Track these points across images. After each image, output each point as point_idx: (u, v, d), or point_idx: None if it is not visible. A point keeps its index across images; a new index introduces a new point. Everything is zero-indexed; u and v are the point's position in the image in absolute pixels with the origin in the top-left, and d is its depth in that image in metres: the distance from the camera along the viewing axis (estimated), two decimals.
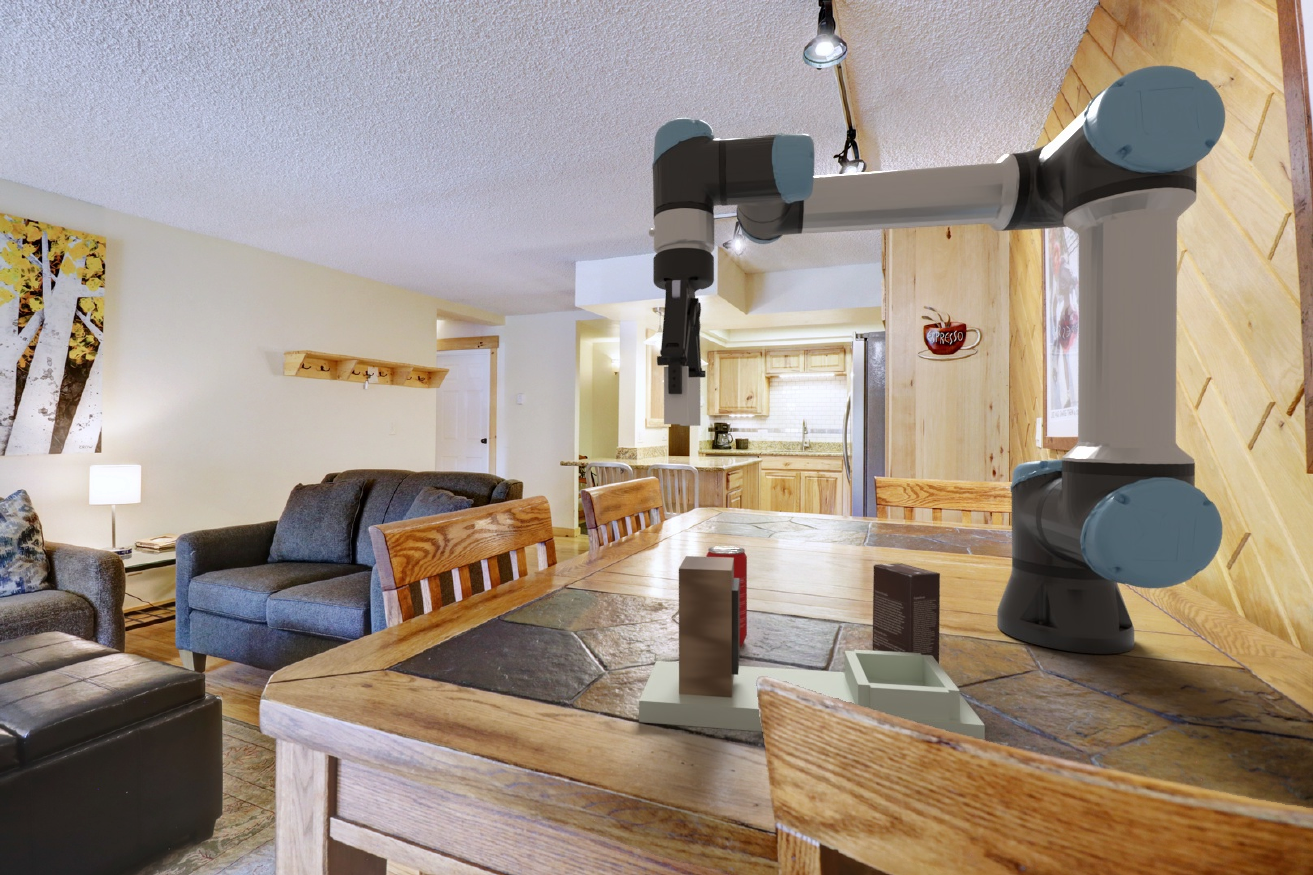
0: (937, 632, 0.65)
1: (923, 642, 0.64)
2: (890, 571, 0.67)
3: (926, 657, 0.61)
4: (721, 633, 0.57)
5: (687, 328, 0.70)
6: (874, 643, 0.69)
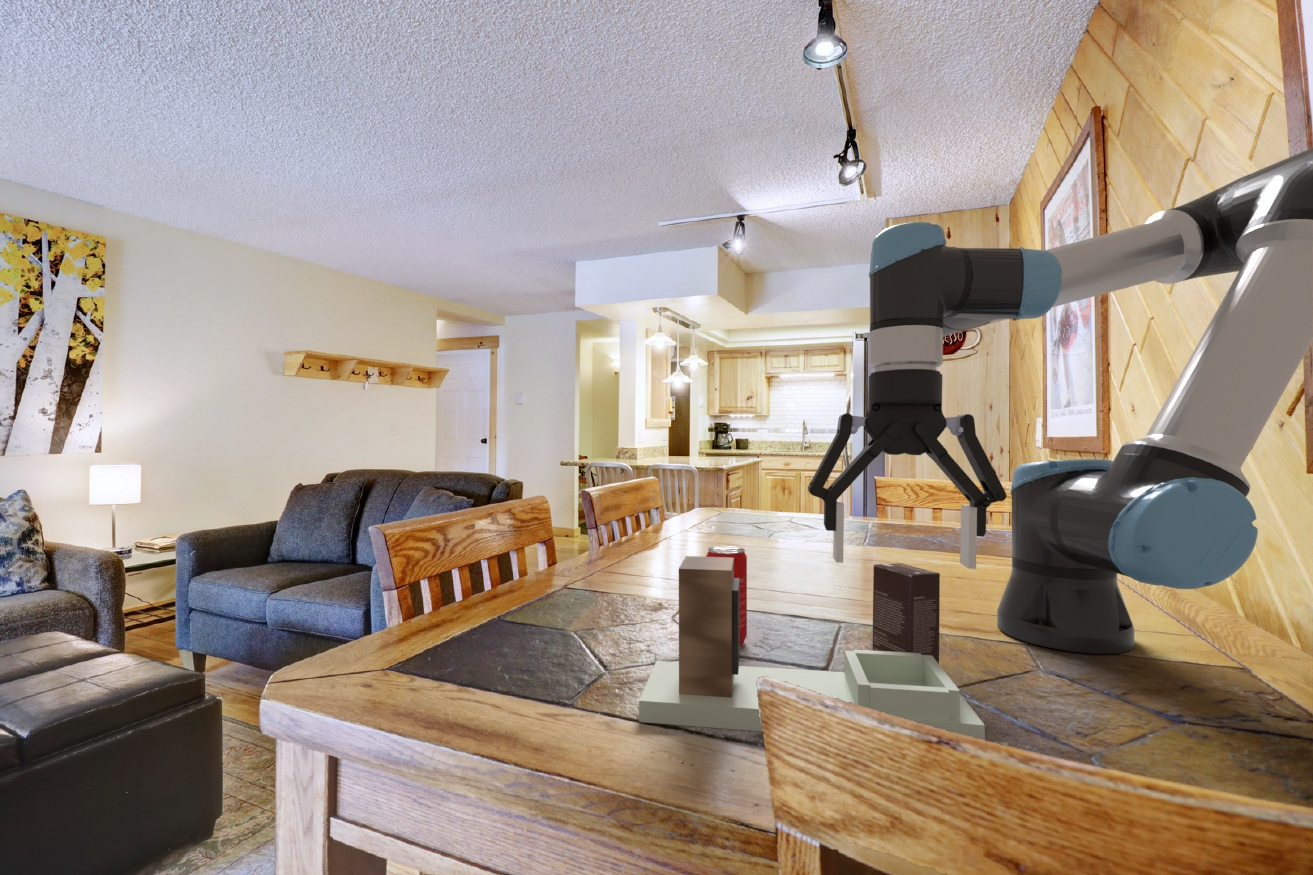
0: (937, 632, 0.65)
1: (923, 642, 0.64)
2: (890, 571, 0.67)
3: (926, 657, 0.61)
4: (721, 633, 0.57)
5: (855, 462, 0.67)
6: (874, 643, 0.69)
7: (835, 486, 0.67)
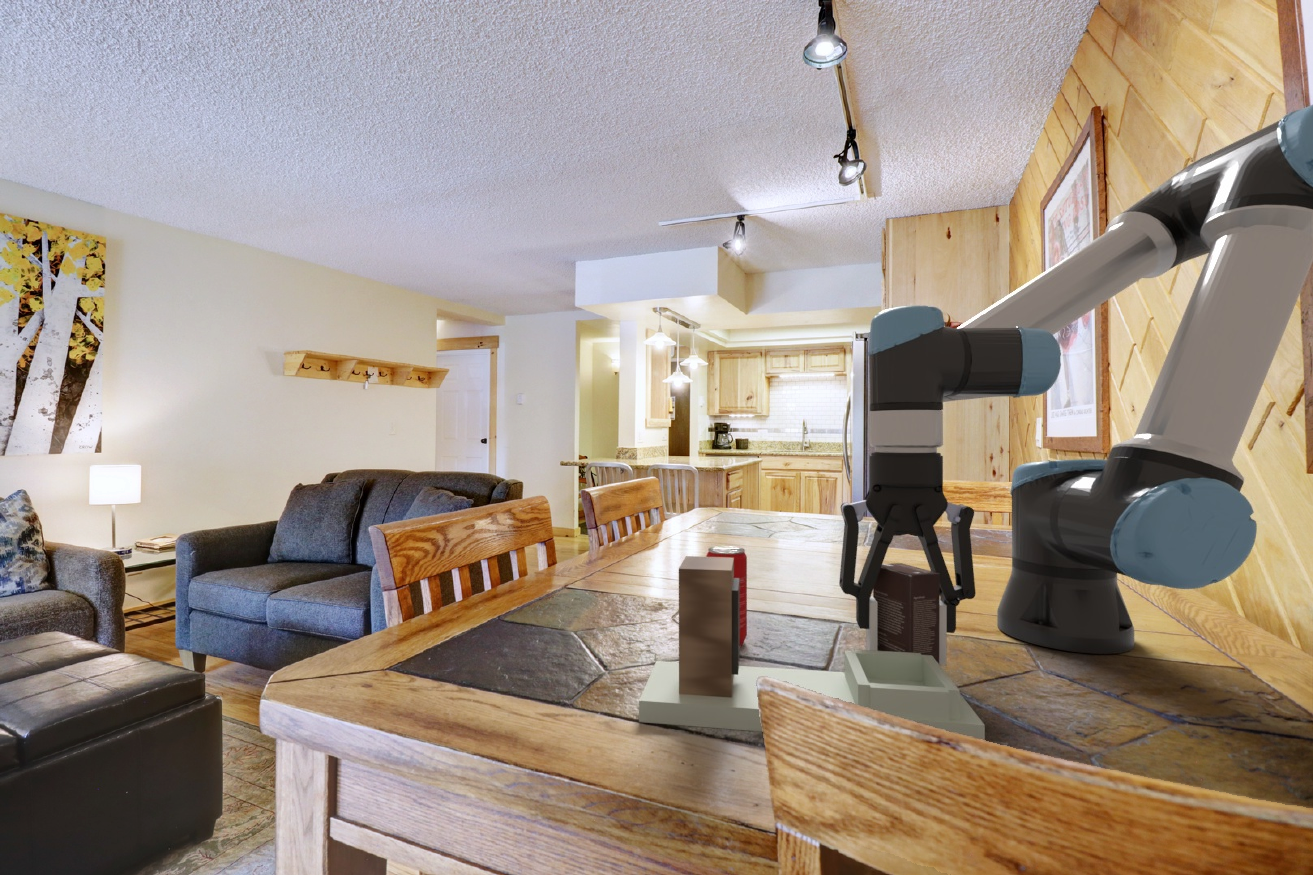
0: (937, 632, 0.65)
1: (923, 642, 0.64)
2: (890, 571, 0.67)
3: (926, 657, 0.61)
4: (721, 633, 0.57)
5: (873, 553, 0.66)
6: None
7: (864, 584, 0.67)
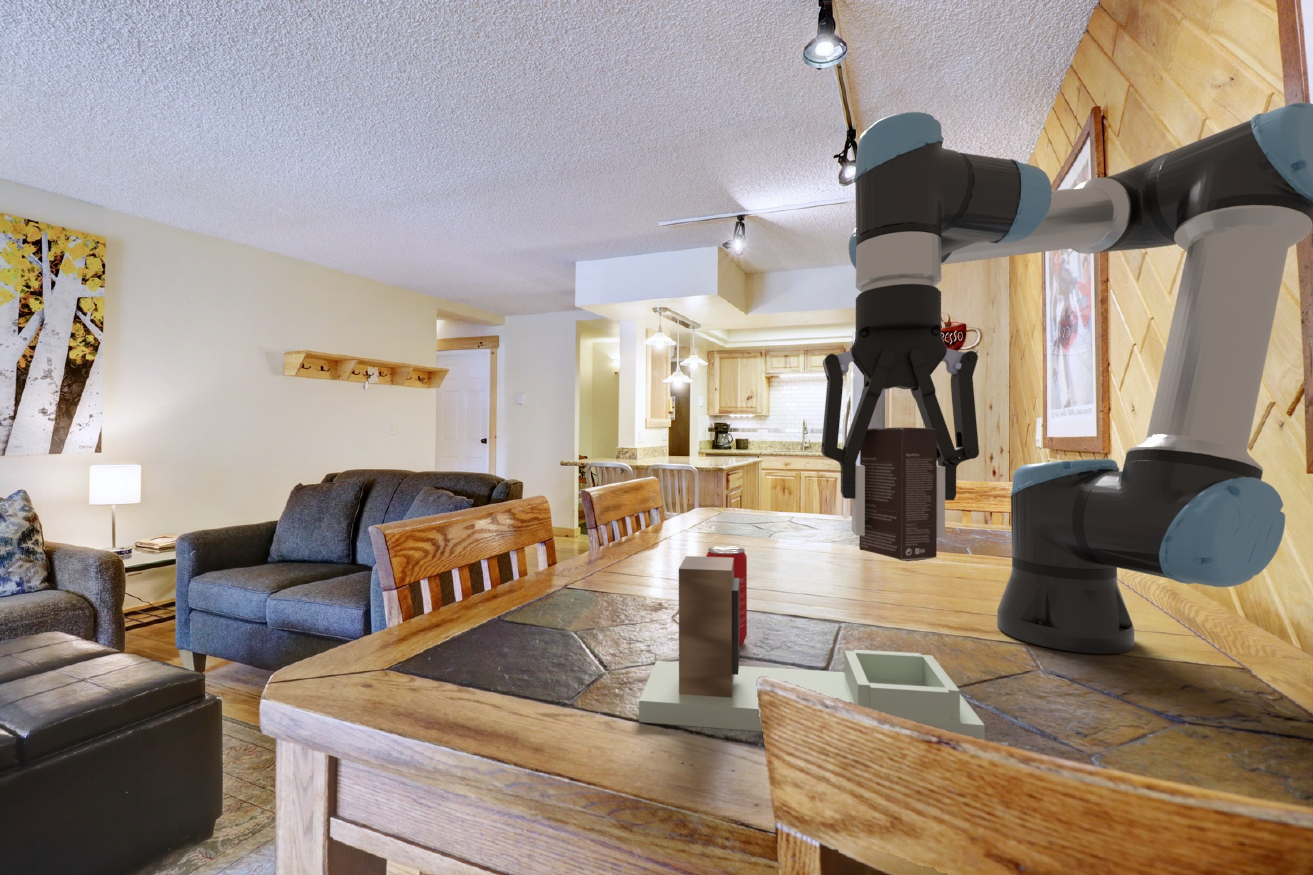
0: (934, 497, 0.55)
1: (918, 508, 0.55)
2: (878, 430, 0.57)
3: (926, 657, 0.61)
4: (721, 633, 0.57)
5: (860, 410, 0.57)
6: None
7: (849, 445, 0.57)
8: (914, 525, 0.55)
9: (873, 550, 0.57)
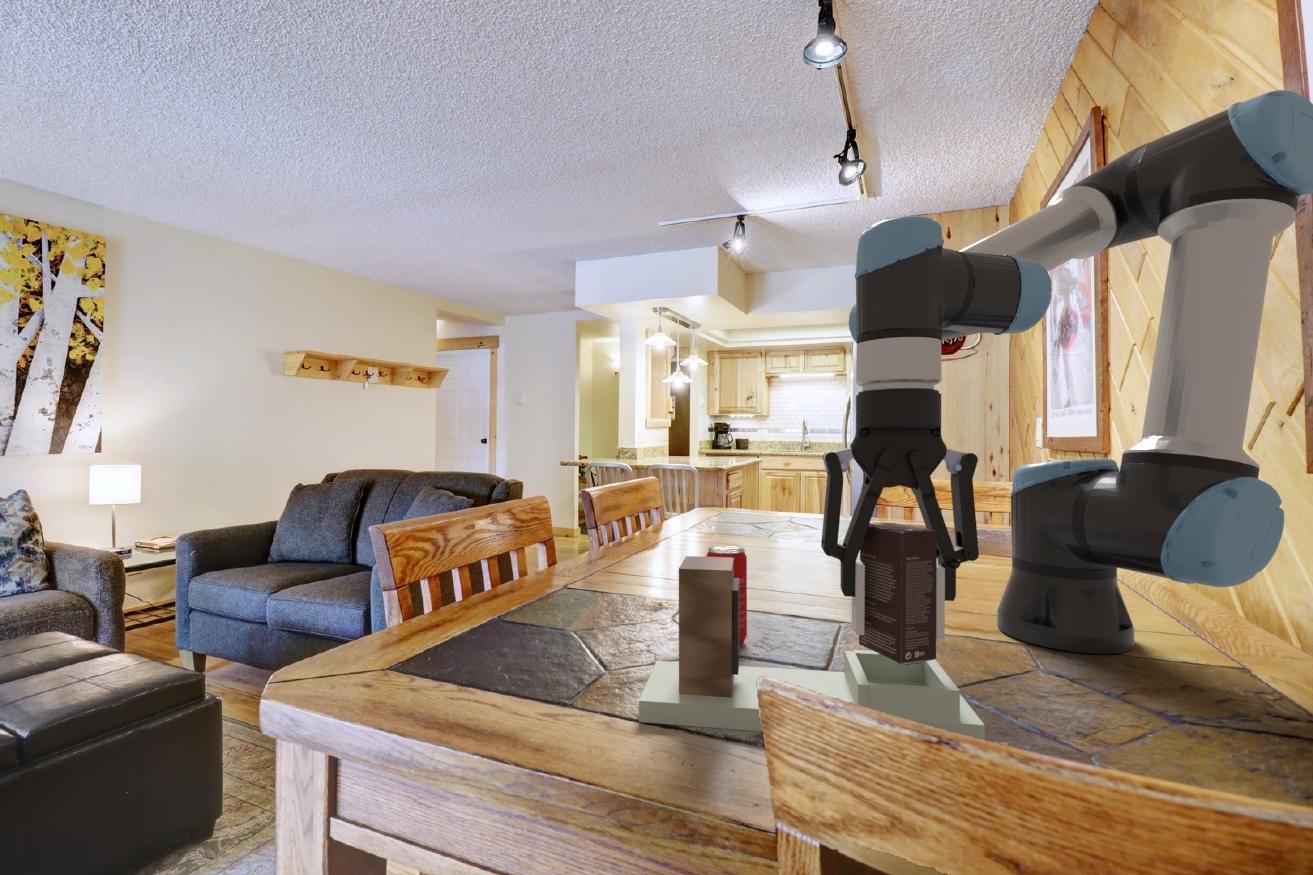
0: (934, 599, 0.55)
1: (918, 611, 0.55)
2: (878, 529, 0.57)
3: None
4: (721, 633, 0.57)
5: (860, 509, 0.57)
6: None
7: (849, 544, 0.57)
8: (914, 628, 0.55)
9: (873, 648, 0.57)
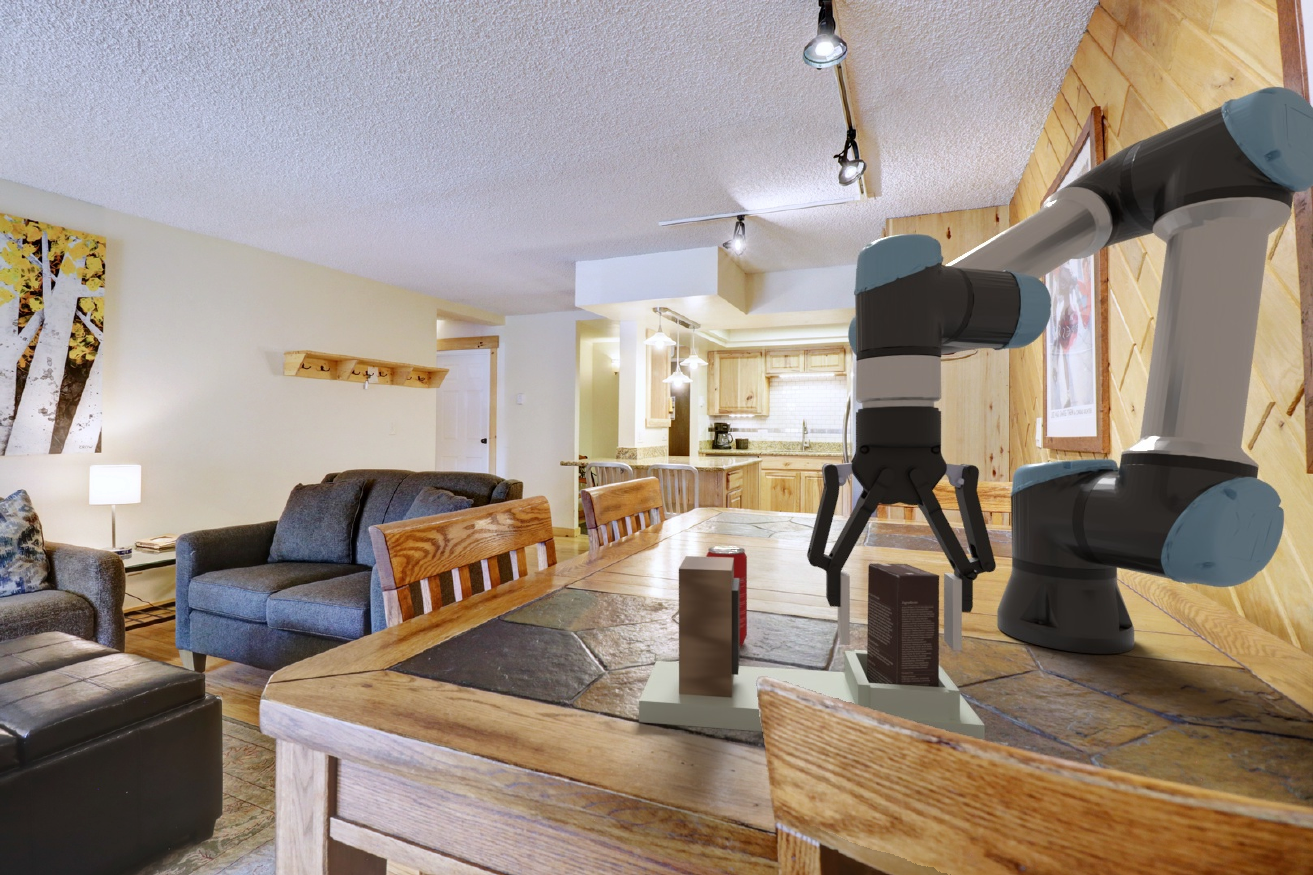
0: (935, 645, 0.55)
1: (916, 656, 0.55)
2: (881, 571, 0.58)
3: None
4: (721, 633, 0.57)
5: (852, 521, 0.57)
6: (868, 654, 0.60)
7: (836, 554, 0.57)
8: (911, 673, 0.54)
9: None
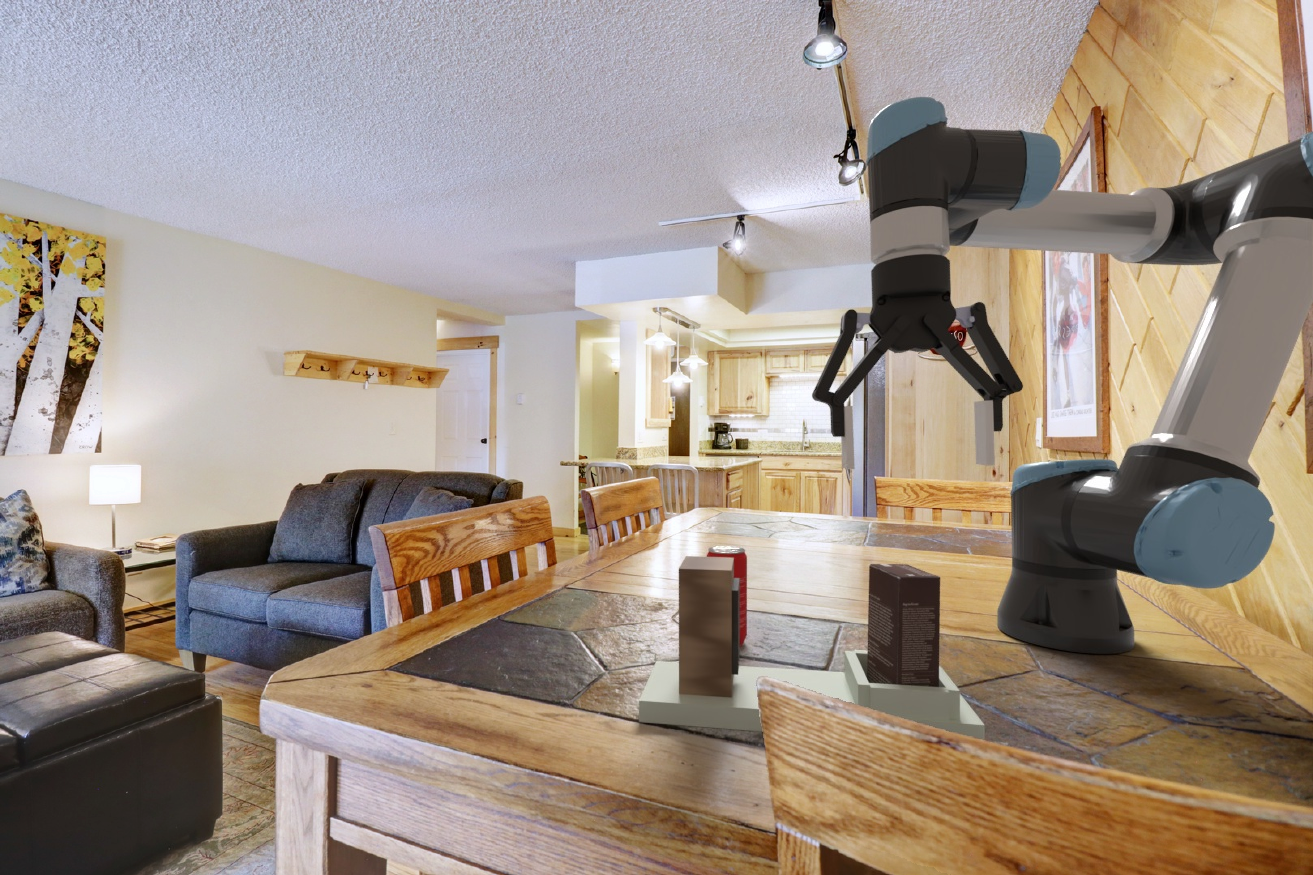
0: (936, 647, 0.55)
1: (917, 657, 0.54)
2: (882, 572, 0.57)
3: None
4: (721, 633, 0.57)
5: (862, 361, 0.62)
6: (868, 654, 0.60)
7: (842, 388, 0.63)
8: (911, 674, 0.54)
9: None
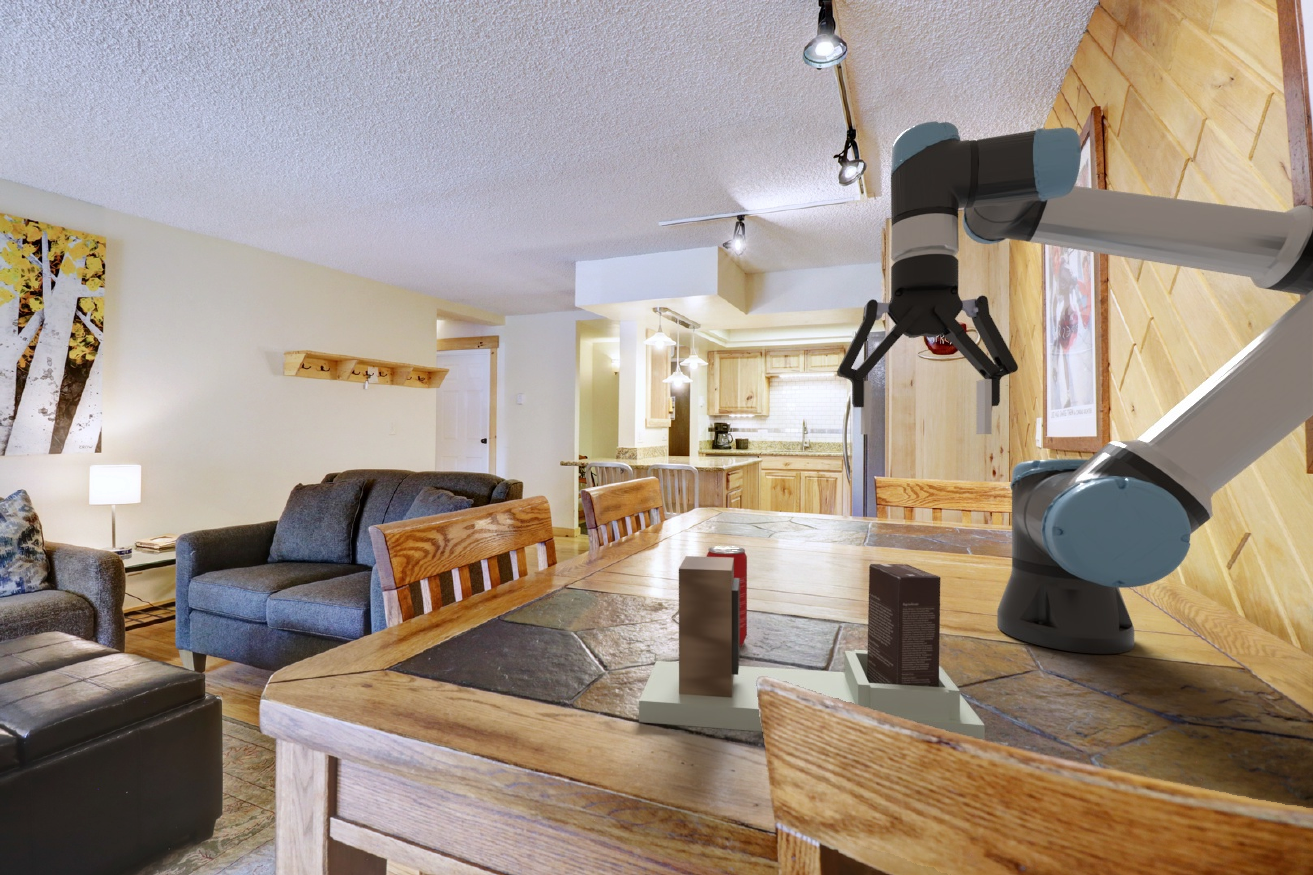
0: (936, 647, 0.55)
1: (917, 657, 0.54)
2: (882, 572, 0.57)
3: None
4: (721, 633, 0.57)
5: (881, 343, 0.74)
6: (868, 654, 0.60)
7: (862, 366, 0.74)
8: (911, 674, 0.54)
9: None
